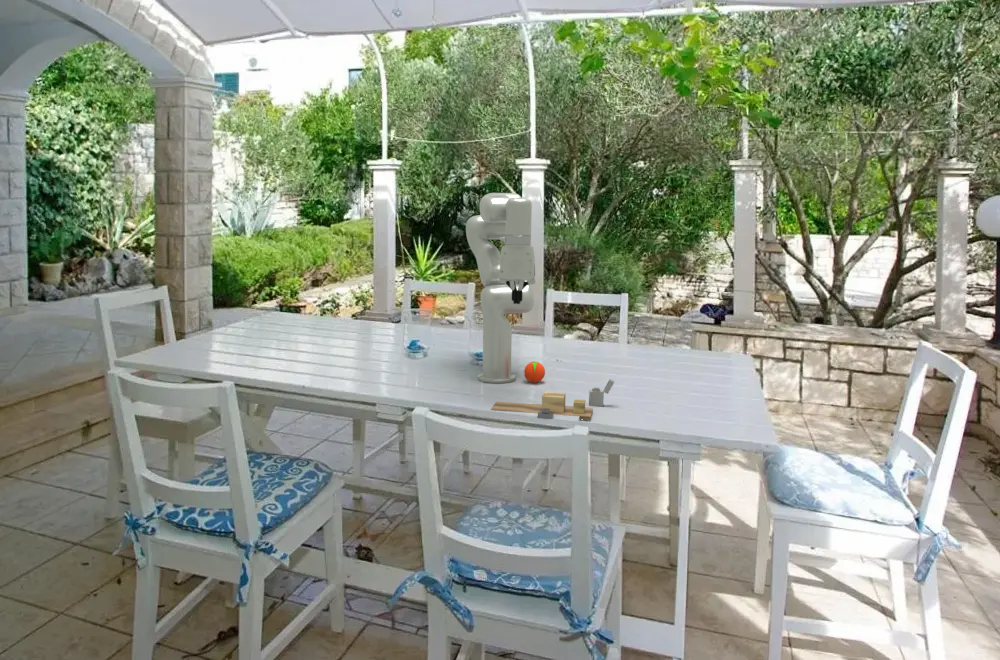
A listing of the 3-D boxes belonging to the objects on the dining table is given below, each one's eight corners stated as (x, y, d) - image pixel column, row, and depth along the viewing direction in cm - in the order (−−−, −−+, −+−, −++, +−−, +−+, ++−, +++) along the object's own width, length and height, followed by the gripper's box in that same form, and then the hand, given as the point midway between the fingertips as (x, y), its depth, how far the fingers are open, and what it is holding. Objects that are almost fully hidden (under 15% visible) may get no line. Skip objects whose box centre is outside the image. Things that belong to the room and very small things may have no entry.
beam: (497, 404, 219) (497, 390, 218) (592, 410, 214) (593, 396, 213) (489, 415, 207) (489, 401, 206) (590, 422, 202) (590, 407, 201)
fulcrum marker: (538, 419, 204) (539, 407, 203) (553, 420, 203) (553, 408, 203) (537, 421, 202) (537, 409, 201) (552, 422, 201) (552, 410, 200)
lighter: (589, 405, 218) (590, 379, 217) (588, 404, 220) (589, 377, 219) (613, 406, 218) (614, 380, 216) (612, 404, 220) (614, 378, 218)
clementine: (545, 386, 240) (545, 364, 239) (523, 385, 240) (524, 364, 239) (544, 380, 248) (544, 359, 247) (523, 379, 248) (524, 358, 247)
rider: (544, 406, 212) (544, 391, 211) (565, 408, 211) (565, 393, 210) (541, 411, 207) (542, 396, 206) (563, 413, 206) (563, 397, 205)
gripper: (490, 241, 215) (489, 304, 218) (541, 242, 212) (540, 306, 215) (495, 239, 222) (494, 300, 225) (545, 241, 219) (543, 302, 223)
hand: (516, 303), depth 220 cm, fingers closed
